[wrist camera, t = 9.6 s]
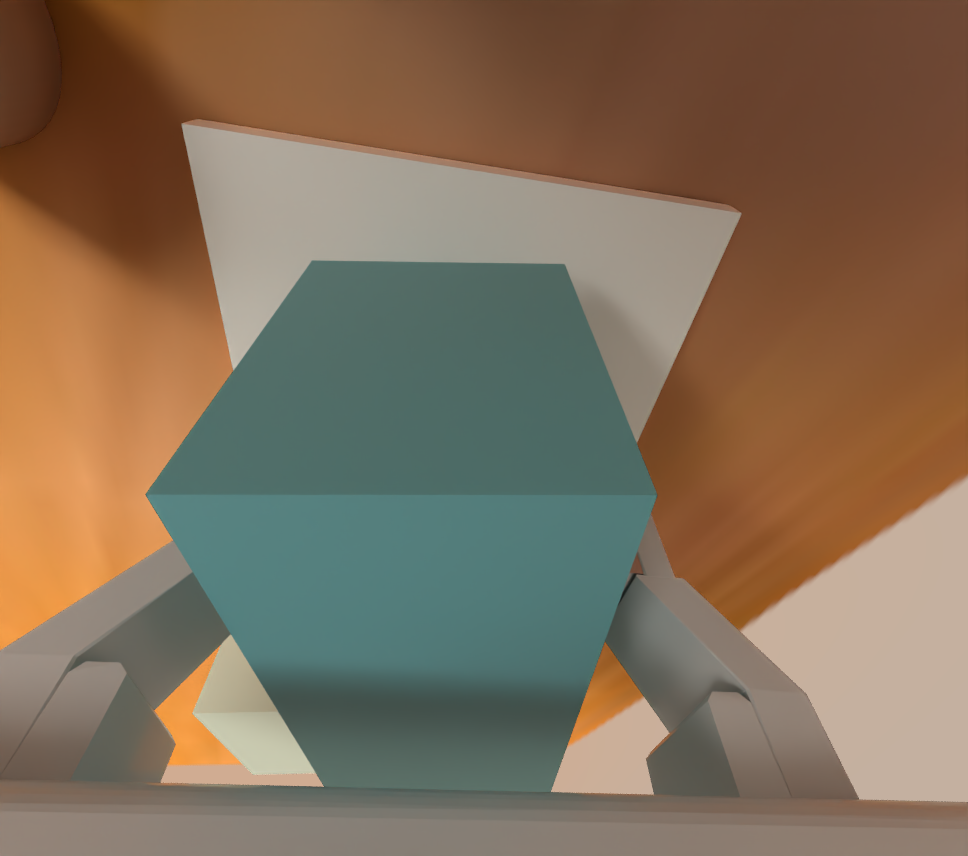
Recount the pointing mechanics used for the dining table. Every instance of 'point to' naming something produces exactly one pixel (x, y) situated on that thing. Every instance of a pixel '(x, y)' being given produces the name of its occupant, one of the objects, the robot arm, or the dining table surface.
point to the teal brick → (417, 518)
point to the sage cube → (247, 717)
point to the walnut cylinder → (27, 70)
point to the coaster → (453, 236)
